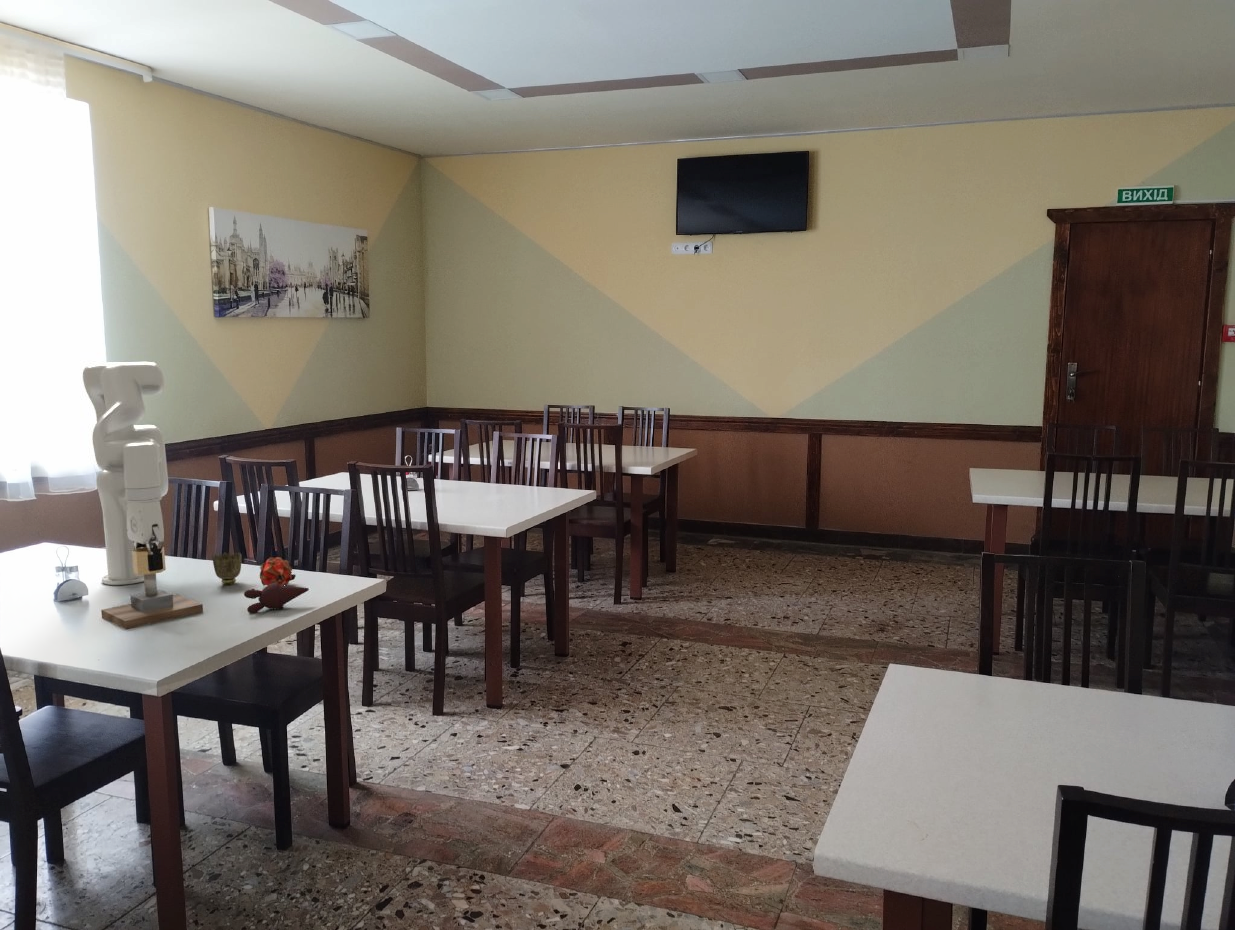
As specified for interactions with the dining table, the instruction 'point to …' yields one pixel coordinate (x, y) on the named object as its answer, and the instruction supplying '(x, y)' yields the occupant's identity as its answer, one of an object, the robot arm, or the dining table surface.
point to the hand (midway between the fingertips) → (149, 567)
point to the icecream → (273, 596)
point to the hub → (144, 561)
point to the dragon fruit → (276, 572)
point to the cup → (227, 567)
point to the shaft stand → (151, 607)
